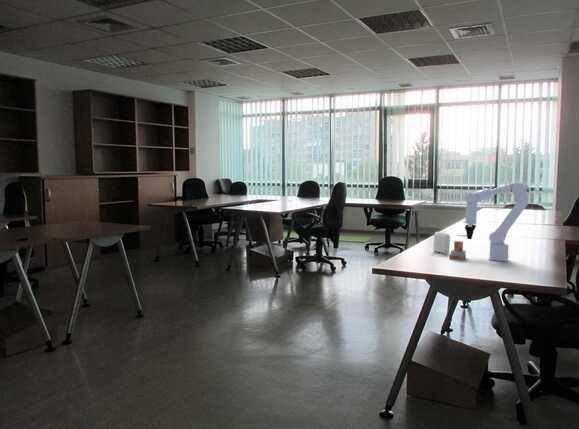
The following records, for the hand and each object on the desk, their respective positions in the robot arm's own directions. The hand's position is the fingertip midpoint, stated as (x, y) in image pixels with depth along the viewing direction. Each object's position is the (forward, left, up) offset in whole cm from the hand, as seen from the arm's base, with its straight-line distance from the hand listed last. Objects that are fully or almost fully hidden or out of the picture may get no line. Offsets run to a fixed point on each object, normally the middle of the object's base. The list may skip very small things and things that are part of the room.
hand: (469, 238), depth 270 cm
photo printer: (+16, -6, -11) cm, 20 cm away
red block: (+5, +10, -6) cm, 12 cm away
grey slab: (+5, +10, -9) cm, 14 cm away
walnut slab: (+5, +10, -11) cm, 16 cm away
